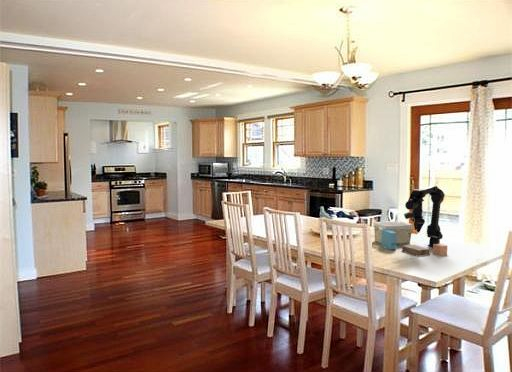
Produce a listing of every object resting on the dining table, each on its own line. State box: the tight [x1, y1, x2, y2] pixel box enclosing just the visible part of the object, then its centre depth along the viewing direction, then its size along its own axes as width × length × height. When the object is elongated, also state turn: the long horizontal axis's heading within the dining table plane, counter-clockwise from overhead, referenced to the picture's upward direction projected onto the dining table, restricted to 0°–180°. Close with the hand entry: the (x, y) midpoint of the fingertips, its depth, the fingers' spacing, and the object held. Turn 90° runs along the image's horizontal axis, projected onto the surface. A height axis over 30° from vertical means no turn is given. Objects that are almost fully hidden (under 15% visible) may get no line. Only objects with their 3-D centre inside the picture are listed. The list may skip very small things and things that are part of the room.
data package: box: [380, 230, 398, 251], centre depth 279 cm, size 12×4×12 cm, turn 14°
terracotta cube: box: [432, 243, 448, 256], centre depth 264 cm, size 6×6×6 cm
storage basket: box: [373, 220, 414, 245], centre depth 297 cm, size 24×16×15 cm
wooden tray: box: [401, 244, 431, 257], centre depth 267 cm, size 10×14×4 cm
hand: (416, 231), depth 270 cm, fingers open, 9 cm apart
